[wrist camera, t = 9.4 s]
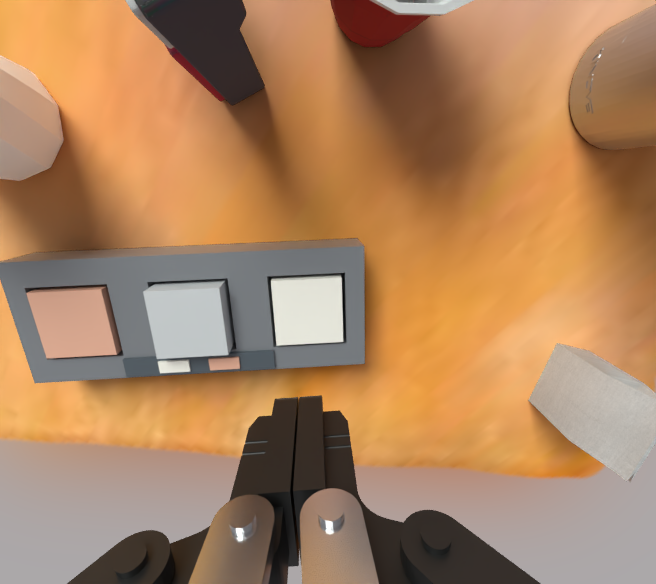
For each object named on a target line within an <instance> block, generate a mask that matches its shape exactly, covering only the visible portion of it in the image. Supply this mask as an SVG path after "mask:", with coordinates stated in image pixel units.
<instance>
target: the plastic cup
mask: <svg viewBox="0 0 656 584" xmlns="http://www.w3.org/2000/svg"><path fill="white" fill-rule="evenodd" d="M471 1H473V0H331V6H332V9H333V12H334V15H335V18H336V20H337V23H338V26H339V27H340V29H341V30H342V31H343V32H344V33H345V34H346V35H347V37H348V38H349V39H350V40H351V41H353V42H355V43H357V44H359V45H361V46H363V47H382V46H384V45H386V44H388V43H390V42H392V41H394V40H396V39H398V38H399V37H400V36H401V35H403V34H404V33H406V32H408V31H410V30H412V29H413V28H414V27H416V26H417V25H419V24H420V23H421V22H423V21H424V20H426V19H427V18H428V17H430V16H441V15H444V14H446V13H448V12H450V11H452V10H454V9H457V8H459V7H461V6H463V5H465V4H467V3H469V2H471Z"/></svg>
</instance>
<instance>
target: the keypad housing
mask: <svg viewBox="0 0 656 584" xmlns="http://www.w3.org/2000/svg"><path fill="white" fill-rule="evenodd" d="M329 273H340V274H341V277H342V311H343V342H332V343H314V344H297V345H279V346H277V345H276V333H275V322H274V311H273V300H272V289H271V279H272V277H273V276H287V275H308V274H329ZM224 278H227V279H228V286H229V294H230V302H231V310H232V318H233V325H234V333H235V342H234V344H233V346H232V348H231V350H230V352H229V355H220V356H202V357H185V358H167V359H157V357H156V352H155V347H154V342H153V337H152V333H151V328H150V323H149V318H148V313H147V308H146V304H145V299H144V294H143V291H145V290H146V289H148V288H150V287H151V286H153V285H154V284H156V283H157V282H162V281H183V280H203V279H224ZM0 280H1V283H2V286H3V289H4V292H5V295H6V298H7V301H8V304H9V307H10V310H11V313H12V316H13V319H14V322H15V325H16V328H17V331H18V334H19V337H20V340H21V343H22V346H23V349H24V352H25V355H26V358H27V361H28V364H29V367H30V370H31V373H32V376H33V379H34V382H35V383H45V382H62V381H79V380H96V379H113V378H130V377H148V376H165V375H182V374H199V373H216V372H233V371H250V370H267V369H285V368H302V367H319V366H336V365H353V364H365V302H364V245H363V244H362V243H361V242H360V241H359V240H358V239H357V238H351V239H328V240H305V241H283V242H260V243H238V244H215V245H192V246H170V247H147V248H124V249H102V250H79V251H56V252H36V253H32V254H28V255H24V256H20V257H16V258H12V259H8V260H4V261H0ZM99 284H107V287H108V292H109V296H110V300H111V304H112V308H113V313H114V317H115V321H116V325H117V329H118V334H119V338H120V342H121V346H122V351H120V352H119V353H118V354H117V355H101V356H83V357H65V358H46V355H45V352H44V348H43V345H42V342H41V339H40V336H39V333H38V329H37V326H36V323H35V320H34V317H33V313H32V310H31V307H30V304H29V301H28V297H27V294H26V293H28V292H30V291H33V290H36V289H38V288H41V287H58V286H78V285H99Z"/></svg>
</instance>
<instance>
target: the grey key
mask: <svg viewBox="0 0 656 584" xmlns="http://www.w3.org/2000/svg"><path fill="white" fill-rule="evenodd" d="M143 294H144V299H145V304H146V308H147V313H148V318H149V323H150V328H151V333H152V337H153V342H154V347H155V352H156V357H157V359H167V358H185V357H202V356H220V355H229V352H230V350H231V348H232V346H233V344H234V342H235V333H234V325H233V318H232V310H231V302H230V294H229V286H228V279H227V278H224V279H203V280H183V281H162V282H157V283H156V284H154V285H153V286H151V287H150V288H148V289H146V290H145V291H143Z"/></svg>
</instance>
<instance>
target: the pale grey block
mask: <svg viewBox="0 0 656 584" xmlns="http://www.w3.org/2000/svg"><path fill="white" fill-rule="evenodd" d="M528 401H530V402H531V403H532V404H533V405H534V406H535V407H536V408H537V409H538V410H539V411H540V412H541V413H542V414H543V415H544V416H545V417H546V418H547V419H548V420H549V421H550V422H551V423H552V424H553V425H554V426H555V427H556V428H557V429H558V430H559V431H560V432H561V433H562V434H563V435H564V436H565V437H566V438H567V439H568V440H569V441H571V442H572V443H574V444H575V445H576V446H578V447H579V448H581V449H582V450H584V451H585V452H587V453H588V454H589V455H591V456H592V457H594V458H595V459H597V460H598V461H600V462H601V463H602V464H604V465H605V466H607V467H608V468H609V469H611V470H612V471H614V472H615V473H616V474H618V475H619V476H620V477H621V478H623V479H624V480H625V481H628V480H629V481H630V482H631V481H632V479H633V478H634V476H635V475H636V473H637V472H638V470H639V469H640V467H641V465H642V464H643V462H644V461H645V459H646V458H647V456H648V455H649V453H650V452H651V450H652V449H653V447H654V445H655V444H656V393H655V392H653V391H652V390H651V389H650V388H649V387H648V386H647V385H645V384H644V383H643V382H641V381H639V380H638V379H636V378H634V377H633V376H631V375H629V374H627V373H626V372H624V371H622V370H621V369H619V368H617V367H616V366H614V365H612V364H611V363H609V362H607V361H606V360H604V359H602V358H600V357H599V356H597V355H595V354H594V353H592V352H590V351H588V350H584V349H579V348H575V347H571V346H567V345H563V344H559V343H557V344H556V346H555V348H554V350H553V352H552V354H551V356H550V358H549V360H548V362H547V364H546V366H545V368H544V370H543V372H542V374H541V376H540V378H539V380H538V382H537V384H536V386H535V388H534V390H533V392H532V394H531V396H530V398H529V400H528Z"/></svg>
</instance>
